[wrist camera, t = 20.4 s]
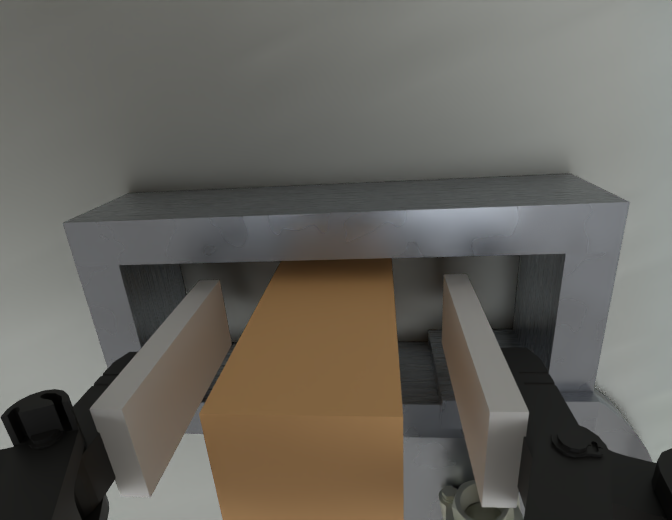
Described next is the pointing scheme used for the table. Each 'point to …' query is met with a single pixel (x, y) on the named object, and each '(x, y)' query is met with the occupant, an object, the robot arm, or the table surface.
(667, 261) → the table surface
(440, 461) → the grey disc
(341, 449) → the tan rectangular block
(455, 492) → the pneumatic valve
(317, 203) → the grey rectangular frame
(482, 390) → the robot arm
